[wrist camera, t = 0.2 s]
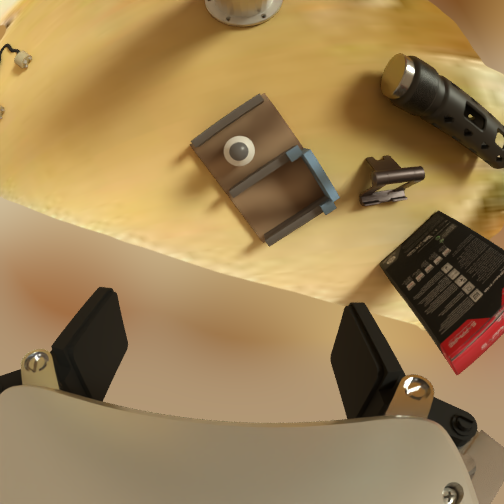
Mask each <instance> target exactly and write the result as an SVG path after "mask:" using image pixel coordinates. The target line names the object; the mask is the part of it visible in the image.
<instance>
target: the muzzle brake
mask: <svg viewBox="0 0 504 504" xmlns="http://www.w3.org/2000/svg"><path fill="white" fill-rule="evenodd" d="M381 91H382V93H383V94H384V95H385V96H387V97H389V99H390V101H391V102H392V103H393V104H394V105H395V106H397V107H399V108H401V109H403V110H405V111H406V112H408V113H410V114H412V115H417V116H421V117H422V119H424V120H425V121H427V122H429V123H430V124H432V125H434V126H435V127H437V128H439V129H440V130H442V131H443V132H445V133H446V134H448V135H449V136H451V137H452V138H454V139H455V140H457V141H458V142H460V143H461V144H462V145H464V146H465V147H467V148H468V149H469V150H471V151H472V152H473V153H475V154H476V155H477V156H479V157H480V158H481V159H483V160H484V161H485V162H486V163H488V164H489V165H490V166H491V167H493V168H496V169H500V168H504V145H503V148H500V147H499V146H498V145H497V144H496V143H495V139H496V135H497V133H498V132H500V133H501V134H502V135H503V137H504V126H503V125H502V124H501V123H500V122H499V121H498V120H497V119H496V118H495V117H494V116H493V115H491V114H490V113H489V112H488V111H487V110H486V109H485V108H484V107H482V106H481V105H480V104H479V103H478V102H477V101H475V100H474V99H473V98H472V97H470V96H469V95H468V94H467V93H465V92H464V91H463V90H462V89H460V88H459V87H458V86H456V85H455V84H453V83H452V82H451V81H449V80H448V79H447V78H445V77H444V76H441V75H439V74H438V73H437V71H436V70H435V69H434V68H433V67H432V66H430V65H428V64H427V63H425V62H424V61H422V60H420V59H419V58H417V57H415V56H406V55H404V54H401V53H399V54H396V55H395V56H394V57H392V59H391V60H390V61H389V62H388V64H387V66H386V68H385V70H384V72H383V75H382V79H381ZM469 114H471V115H472V116H473V117H472V118H468V115H469ZM498 155H500V157H497V156H498Z"/></svg>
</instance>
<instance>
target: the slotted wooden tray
mask: <svg viewBox="0 0 504 504" xmlns="http://www.w3.org/2000/svg"><path fill="white" fill-rule="evenodd" d="M236 136H244V137H247V138H249V139H250V140H251V141H252V143H253V145H254V148H255V154H254V157H253V159H252V160H251V161H250V162H249V163H248V164H246V165H244V166H234V165H232V164H230V163H229V162H228V161H227V160H226V158H225V156H224V146H225V144H226V143H227V141H228V140H229V139H231V138H233V137H236ZM191 142H192V144H190V146H191V147H192V149H193V150H194V151H195V153H196V154H197V155H198V157H199V158H200V159H201V160H202V162H203V163H204V164H205V166H206V167H207V168H208V170H209V171H210V172H211V174H212V175H213V176H214V178H215V179H216V180H217V182H218V183H219V184H220V186H221V187H222V188H223V190H224V191H225V192H226V194H227V195H228V196H229V198H230V199H231V200H232V202H233V203H234V204H235V206H236V207H237V208H238V210H239V211H240V212H241V214H242V215H243V216H244V218H245V219H246V220H247V222H248V223H249V225H250V226H251V227H252V229H253V230H254V231H255V233H256V234H257V235H258V237H259V238H260V239H261V241H262V242H263V243H264V242H266V243H267V244H268V246H271V245H272V244H274V243H276V242H277V241H279V240H280V239H282V238H283V237H285V236H287V235H288V234H290V233H291V232H293V231H294V230H296V229H297V228H299V227H301V226H302V225H304V224H305V223H307V222H308V221H310V220H312V219H313V218H315V217H316V216H318V215H319V214H321V213H322V212H324V214H325V215H327V214H328V213H330V212H332V211H333V210H335V209H336V206H335V204H334V201H336V200H337V199H339V198H340V197H339V195H338V194H337V192H336V190H335V188H334V187H333V185H332V183H331V182H330V180H329V178H328V177H327V175H326V173H325V172H324V170H323V169H322V167H321V165H320V164H319V162H318V161H317V159H316V157H315V156H314V154H313V153H312V151H311V150H310V149H306V148H303V147H302V145H301V144H300V142H299V141H298V139H297V138H296V136H295V135H294V134H293V132H292V131H291V129H290V128H289V126H288V125H287V123H286V122H285V121H284V119H283V118H282V116H281V115H280V114H279V112H278V111H277V109H276V108H275V107H274V105H273V104H272V103H271V101H270V100H269V99H268V97H267V96H266V95H265V93H264V94H262V95H260V94H258V95H256V96H255V97H253V98H252V99H250V100H249V101H247V102H245V103H244V104H242V105H241V106H239V107H238V108H236V109H235V110H233V111H232V112H231V113H229V114H228V115H226V116H225V117H223V118H222V119H220V120H219V121H218V122H216V123H215V124H213V125H212V126H211V127H209V128H208V129H207V130H205V131H204V132H203V133H201V134H200V135H199V136H197V137H196V138H195V139H193V140H192V141H191Z"/></svg>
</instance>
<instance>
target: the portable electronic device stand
mask: <svg viewBox="0 0 504 504" xmlns="http://www.w3.org/2000/svg"><path fill="white" fill-rule="evenodd" d="M383 158H384V160H375V159H374V158H373V157H368V158H366V160H367V161H368V163H369V164H370V165H371V166H372V168H373V169H374V170H375V171H373V172H372V173H371V180H372V187H370V188H369V189H367V190H366V191H365V192H363V193H362V194H360V196H359V199H360V203H361V205H362V206H368V205H375V204H380V203H382V202H389V201H393V202H394V201H400V200H407V197H405V194H404V190H405V189H406V188H408V187H410V186H412V185H414V184H416V183H418V182H420V181H422V180H423V179H424V178H425V172H424V169H423V168H422V167H421V166H419V167H408V168H401V167H400V166H399V165H398V164H397V163H396V162H395V161H394V160H393V159H392V158H391V156H388V155H387V156H383ZM402 182H407V183H405V184H403V185H401V186H400V187H398V188H396V189H394V190H387V191H380V192H375V191H377V190H379V189H380V188H382V187H383V186H385V185H387V184H394V183H402Z"/></svg>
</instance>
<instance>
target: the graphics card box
mask: <svg viewBox="0 0 504 504" xmlns="http://www.w3.org/2000/svg"><path fill="white" fill-rule="evenodd" d="M380 266H381V268H382V269H383V271H384V272H385V274H386V275H387V277H388V279H389V280H390V281H391V283H392V284H393V285H394V287H395V289H397V291H398V292H399V294H400V295H401V296H402V297H403V299H404V300H405V301H406V303H407V304H408V306H409V307H410V308H411V310H412V311H413V312H414V314H415V315H416V317H417V318H418V319H419V321H420V322H421V324H422V325H423V326H424V328H425V329H426V331H427V332H428V333H429V335H430V336H431V338H432V339H433V341H434V342H435V344H436V345H437V347H438V348H439V350H440V351H441V353H442V354H443V356H444V357H445V359H446V360H447V362H448V363H449V365H450V366H451V368H452V369H453V371H454V372H455V374H456V375H458V374H460V373H461V372H462V371H463V370H465V369H466V368H467V367H468V366H469V365H471V364H472V363H473V362H474V361H475V360H476V359H477V358H479V356H481V355H482V354H483V353H484V352H485V351H486V350H487V349H488V348H489V347H490V346H491V345H492V344H493V343H494V342H495V341H496V340H497V339H498V338H499V337H500V336H501V335H502V334H503V333H504V250H503V249H502V248H500V247H498V246H497V245H495V244H494V243H492V242H491V241H489V240H488V239H486V238H484V237H483V236H481V235H480V234H478V233H476V232H475V231H473V230H471V229H470V228H468V227H467V226H465V225H463V224H462V223H460V222H458V221H457V220H455V219H453V218H451V217H449V216H448V215H446V214H444V213H442V212H440V211H437V212H436V213H435V214H434V215H433V216H432V217H431V218H430V219H429V220H428V221H427V222H426V223H425V224H424V225H422V226H421V227H420V228H419V229H418V230H417V231H416V232H415V233H414V234H413V235H412V236H411V237H409V238H408V239H407V240H406V241H405V242H404V243H403V244H402V245H400V246H399V247H398V248H397V249H396V250H395V251H394V252H392V253H391V254H390V255H389V256H388V257H387V258H385V259H384V260H383V261H382V262H381V263H380Z"/></svg>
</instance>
